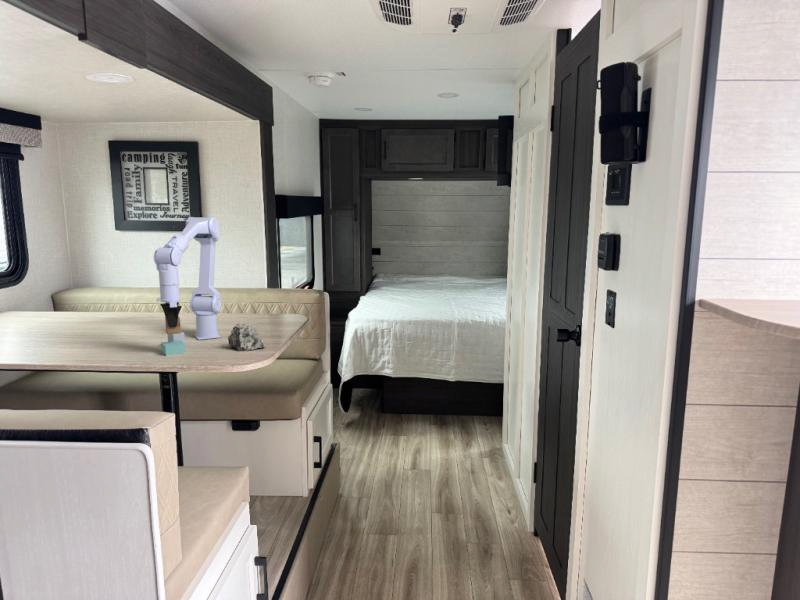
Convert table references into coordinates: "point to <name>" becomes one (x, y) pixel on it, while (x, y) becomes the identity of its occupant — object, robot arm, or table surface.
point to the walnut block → (173, 329)
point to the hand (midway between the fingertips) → (172, 325)
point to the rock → (245, 338)
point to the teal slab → (173, 347)
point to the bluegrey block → (176, 337)
